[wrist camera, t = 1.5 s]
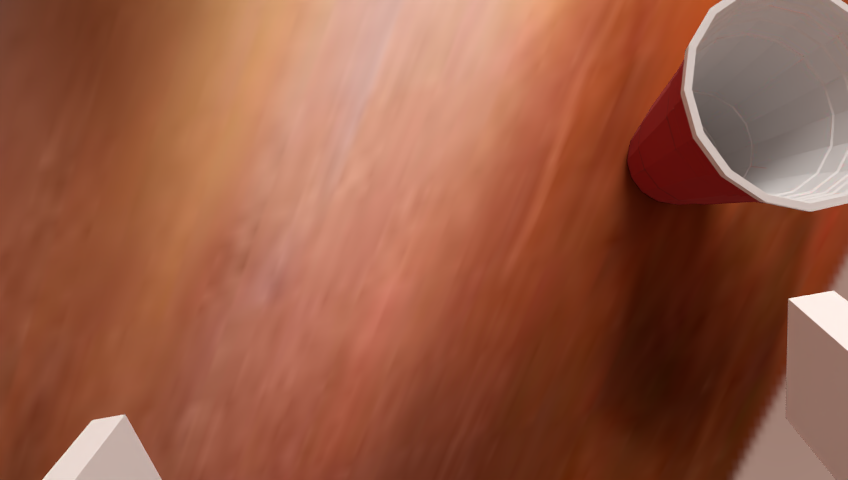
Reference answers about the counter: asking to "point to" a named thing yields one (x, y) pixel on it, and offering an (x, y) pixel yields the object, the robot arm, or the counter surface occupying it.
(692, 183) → the plastic cup
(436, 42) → the counter surface
